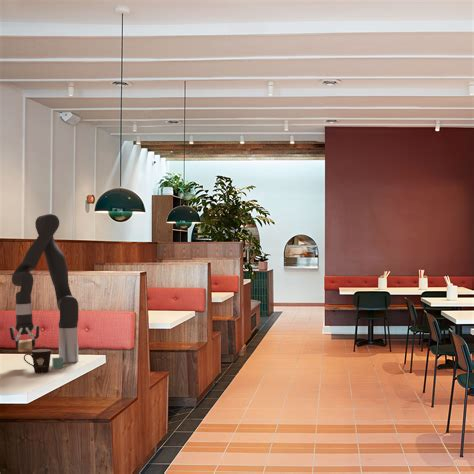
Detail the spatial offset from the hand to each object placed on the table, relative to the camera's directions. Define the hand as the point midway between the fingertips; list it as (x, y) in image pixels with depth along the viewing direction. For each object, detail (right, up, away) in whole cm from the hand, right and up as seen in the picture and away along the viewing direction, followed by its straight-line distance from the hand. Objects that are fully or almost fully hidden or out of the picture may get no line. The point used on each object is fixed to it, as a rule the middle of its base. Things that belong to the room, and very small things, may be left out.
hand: (25, 348), depth 329 cm
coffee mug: (+9, -10, -11) cm, 17 cm away
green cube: (+15, -10, +1) cm, 18 cm away
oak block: (0, -1, 0) cm, 1 cm away
